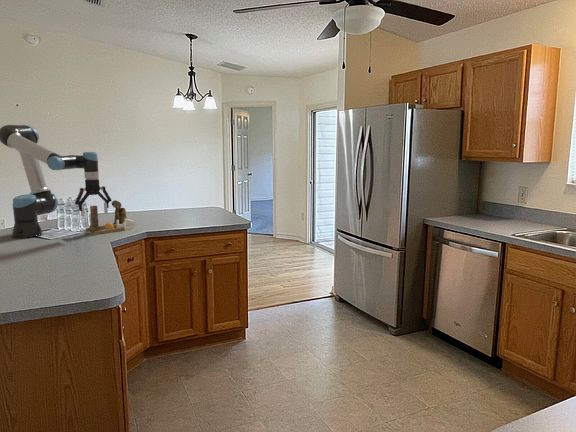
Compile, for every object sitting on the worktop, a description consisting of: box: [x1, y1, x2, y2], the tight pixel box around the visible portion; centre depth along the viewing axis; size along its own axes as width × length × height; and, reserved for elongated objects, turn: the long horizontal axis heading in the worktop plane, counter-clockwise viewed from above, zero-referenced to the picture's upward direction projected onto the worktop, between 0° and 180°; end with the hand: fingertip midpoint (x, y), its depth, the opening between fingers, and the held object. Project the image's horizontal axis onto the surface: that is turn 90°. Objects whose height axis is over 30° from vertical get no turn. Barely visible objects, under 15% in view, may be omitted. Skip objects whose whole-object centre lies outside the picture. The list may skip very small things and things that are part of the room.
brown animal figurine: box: [111, 200, 128, 225], centre depth 287 cm, size 9×14×18 cm, turn 2°
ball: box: [104, 222, 115, 230], centre depth 267 cm, size 5×5×5 cm
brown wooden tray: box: [85, 218, 138, 237], centre depth 268 cm, size 25×17×6 cm
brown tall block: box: [88, 205, 101, 233], centre depth 260 cm, size 4×7×16 cm, turn 44°
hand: (94, 215), depth 260 cm, fingers open, 13 cm apart
